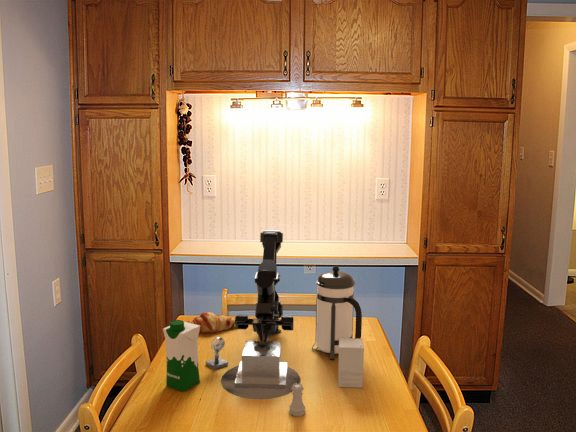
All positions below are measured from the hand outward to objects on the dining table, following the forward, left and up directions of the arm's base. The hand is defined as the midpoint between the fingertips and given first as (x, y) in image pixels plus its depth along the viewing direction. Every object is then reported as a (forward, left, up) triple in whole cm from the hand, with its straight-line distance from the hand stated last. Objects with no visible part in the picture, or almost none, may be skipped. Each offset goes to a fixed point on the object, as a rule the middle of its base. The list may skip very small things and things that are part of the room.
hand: (263, 347), depth 174 cm
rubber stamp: (+10, -11, -7) cm, 16 cm away
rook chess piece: (+11, +27, -7) cm, 30 cm away
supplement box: (-13, +25, -7) cm, 29 cm away
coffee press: (-26, +8, -7) cm, 28 cm away
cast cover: (+4, +4, -7) cm, 9 cm away
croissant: (-7, -38, -7) cm, 39 cm away
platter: (+6, +6, -7) cm, 11 cm away
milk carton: (+25, -7, -7) cm, 27 cm away
